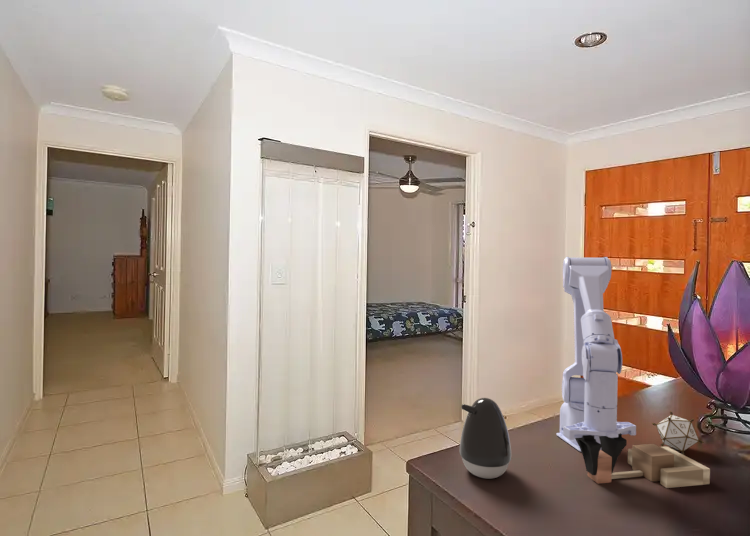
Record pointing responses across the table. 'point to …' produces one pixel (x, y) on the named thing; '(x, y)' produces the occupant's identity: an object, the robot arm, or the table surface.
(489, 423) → the pump dispenser
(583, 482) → the table surface
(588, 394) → the robot arm
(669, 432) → the game die
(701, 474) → the wooden u-channel piece
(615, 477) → the tethered block
